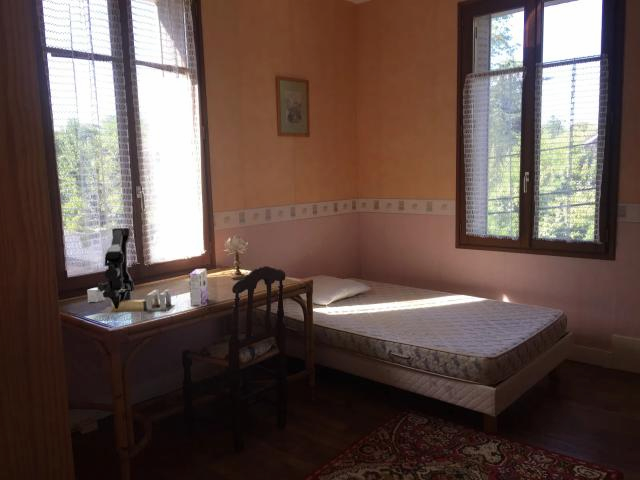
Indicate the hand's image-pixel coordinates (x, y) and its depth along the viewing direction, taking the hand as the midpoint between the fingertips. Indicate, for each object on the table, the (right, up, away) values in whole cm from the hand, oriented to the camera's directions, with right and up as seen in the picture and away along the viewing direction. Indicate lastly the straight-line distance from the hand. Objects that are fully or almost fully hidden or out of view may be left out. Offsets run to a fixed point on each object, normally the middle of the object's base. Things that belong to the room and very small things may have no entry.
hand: (118, 307), depth 261 cm
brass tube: (+7, -1, 0) cm, 7 cm away
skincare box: (-19, 0, +21) cm, 28 cm away
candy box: (+37, +1, +13) cm, 39 cm away
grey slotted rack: (+9, -2, 0) cm, 9 cm away
